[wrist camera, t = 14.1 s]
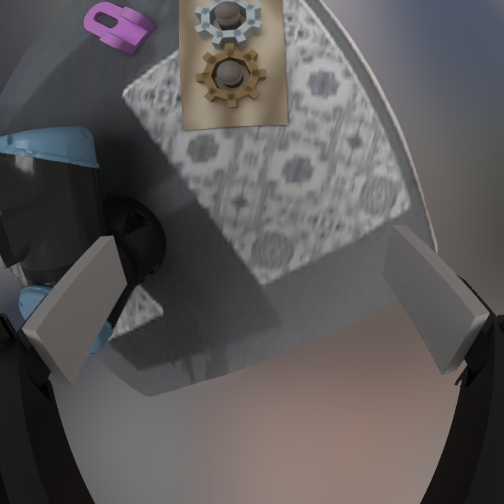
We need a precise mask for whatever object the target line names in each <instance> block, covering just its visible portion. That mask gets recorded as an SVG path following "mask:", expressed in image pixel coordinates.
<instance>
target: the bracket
mask: <svg viewBox="0 0 504 504" xmlns="http://www.w3.org/2000/svg"><path fill="white" fill-rule="evenodd" d="M103 13H105V14H107V15H110V16H112V17H114V18H116V19H118V24H117V25H116V26H115V27H114V28H111V29H110V28H108V27H106V26H104V25H102V24H100V23H98V22H97V18H98V17H99V15H101V14H103ZM84 27H85V29H86V30H88V31H90V32H92V33H94V34H95V35H97V36H99V37H101V38H100V40H101V41H103V42H104V43H106V44H108V45H110V46H112V47H114V48H117V49H119V50H122V51H124V52H127V53H129V54H132V55H133V54H134V53H135V52H136V50H137V49H138V48H139V46H140V45H141V44H142V43H143V41H144V40H145V39H146V38H147V37H148V35H149V34H150V33H151V32H152V31H153V30H154V28H155V27H156V25H154V24H153V23H152V22H151V21H149V20H148V19H147V18H146V17H144V16H143V15H141V14H140V13H138V12H136V11H134V10H132V9H130V8H128V7H124V9H123V8H120V7H118V6H116V5H114V4H111V3H109V2H102V3H99V4H97V5H95V6H94V7H92V8H91V9H90V10H89V12H88V13H87V14H86V16H85V19H84Z"/></svg>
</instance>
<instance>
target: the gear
mask: <svg viewBox="0 0 504 504" xmlns="http://www.w3.org/2000/svg"><path fill="white" fill-rule="evenodd" d="M225 1H231V2H234V3H236V4H237V5H238V7H239V10H240V15H242V16H243V17H245V18H246V20H247V21H245V22H244V23H243V24H242V25H241V26H240V27H239V28H237V29H236V30H225V31H220V30H219V29H217V28H216V27H214V24H213V21H214V20H215V19H216V15H215V8H216V7H217V5H219V4H220V3H222V2H225ZM261 8H262V7H261V5H260V4H259V2H255V3H252V4H250V3H249V2H247V1H246V0H212V1H211V2H210V3H209V4H208V5H207V6H205V7H198V6H197V8H196V10H195V12H194V13H195V15H196V16H197V18H198V20H199V21H200V22H201V24H199V25H197V26H195V29H196V31H197V33H198V34H199V35H200V37H201V38H202V40H205V39H207V38H209V37H210V38H211V39H212V44H213V46H214V48H215V49H217V50H221V51H223V48H224V46H225V44H228V43H234V44H237V46H238V47H239V49H243V48H245V47H247V43H246V39H247V38H248V37H249V36H250V35H252V34H253V35H256V36H259V34H260V32H261V29H262V21H258V20H255V19H256V18H259V17H261Z"/></svg>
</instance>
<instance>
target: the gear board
mask: <svg viewBox="0 0 504 504" xmlns="http://www.w3.org/2000/svg"><path fill="white" fill-rule="evenodd" d="M211 1H212V0H179V53H180V79H181V98H182V113H183V127H184V131H188V130H197V129H207V128H219V127H234V126H257V125H288V121H287V86H286V62H285V43H284V26H283V12H282V0H246V1H247V2H249V3H250V4H252V3H255V2H259V4H260V5H261V7H262V8H261V17H259V18H256V19H255V20H258V21H262V29H261V32H260V34H259V36H256V35H253V34H252V35H250V36H249V37H248V38H247V39H246V43H247V47H245V48H243V49H239V47H238V46H237V44H234V43H228V44H225V46H224V48H223V51H221V50H217V49H215V48H214V46H213V44H212V39H211V38H210V37H209V38H207V39H205V40H202V38H201V37H200V35H199V34H198V33H197V31H196V29H195V26H197V25H199V24H201V22H200V21H199V20H198V18H197V16H196V15H195V13H194V12H195V10H196V8H197V6H198V7H205V6H207V5H208V4H209V3H210V2H211ZM215 15H216V19H215V20H214V21H213V24H214V27H216V28H217V29H219V30H220V31H225V30H236V29H237V28H239V27H240V26H241V25H242V24H243V23H244V22H245V21H247V20H246V18H245V17H243V16H242V15H240V10H239V7H238V5H237V4H236V3H234V2H231V1H225V2H222V3H220V4H219V5H217V7H216V8H215Z"/></svg>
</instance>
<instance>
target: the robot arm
mask: <svg viewBox="0 0 504 504" xmlns="http://www.w3.org/2000/svg"><path fill="white" fill-rule="evenodd" d="M98 169H99V164H98V163H97V159H96V152H95V145H94V138H93V135H92V134H91V132H90V131H89V130H87V129H86V128H84V127H79V126H66V127H51V128H42V129H35V130H29V131H23V132H18V133H15V134H11V135H5V136H2V137H0V267H2V268H4V269H6V268H8V267H10V266H12V265H14V264H16V263H19V262H20V264H21V267H22V270H23V272H24V275H25V278H26V280H27V286H25V287H24V288H23V289H22V291H21V295H20V298H19V308H20V311H21V313H22V316H23V317H24V319H25V322H24V323H23V325H22V326H21V328H20V329H19V330H18V332H17V333H16V331H15V329H14V328H13V326H12V324H11V323H10V321H9V319H8V317H7V316H6V315H5V314H4V313H0V504H95V503H94V501H93V499H92V497H91V495H90V493H89V491H88V489H87V487H86V485H85V482H84V480H83V478H82V476H81V474H80V471H79V469H78V467H77V465H76V462H75V459H74V457H73V454H72V451H71V449H70V446H69V443H68V440H67V437H66V434H65V432H64V428H63V425H62V422H61V419H60V415H59V412H58V408H57V404H56V400H55V396H54V392H53V388H52V384H51V382H50V380H49V379H48V377H49V375H50V373H52V375H53V376H54V377H55V378H56V380H57V381H58V382H59V383H63V384H66V385H70V386H73V384H74V383H75V380H76V378H77V376H78V374H79V372H80V370H81V368H82V366H83V364H84V362H85V360H86V358H87V357H89V356H93V355H96V354H97V353H98V352H100V350H101V349H102V348H103V347H104V345H105V343H106V342H107V340H108V339H109V337H111V336H112V334H113V329H114V327H115V325H116V323H117V321H118V319H119V317H120V315H121V313H122V311H123V309H124V307H125V305H126V303H127V301H128V300H129V298H130V296H131V294H132V292H133V290H134V288H135V287H136V286H138V285H139V284H141V283H142V282H144V281H145V280H147V279H148V278H150V277H151V276H152V275H153V274H154V273H155V272H156V271H157V269H158V267H159V266H160V264H161V262H162V260H163V257H164V254H165V248H166V243H165V236H164V232H163V229H162V227H161V225H160V223H159V221H158V220H157V218H156V217H155V216H154V214H153V213H152V212H151V211H150V210H149V209H148V208H146V207H145V206H144V205H142V204H141V203H139V202H137V201H135V200H132V199H129V198H123V197H116V198H111V199H108V200H105V201H104V202H102V198H101V191H100V183H99V174H98ZM382 275H383V277H384V278H385V280H386V281H387V283H388V284H389V286H390V287H391V289H392V290H393V292H394V293H395V295H396V297H397V298H398V300H399V301H400V303H401V304H402V306H403V307H404V309H405V311H406V312H407V314H408V316H409V317H410V319H411V321H412V322H413V324H414V326H415V327H416V329H417V331H418V332H419V334H420V336H421V337H422V339H423V341H424V343H425V344H426V346H427V348H428V350H429V351H430V353H431V355H432V357H433V359H434V361H435V363H436V364H437V366H438V368H439V370H440V372H441V374H442V375H443V374H447V373H449V372H453V371H455V370H457V369H458V367H459V366H460V364H461V362H462V361H463V360H465V361H466V363H467V366H466V368H465V369H464V371H463V372H462V373H461V375H460V376H459V378H458V379H457V381H456V383H455V385H457V384H458V383H459V381H461V380H462V383H461V385H460V387H461V388H460V393H459V397H458V401H457V405H456V409H455V414H454V417H453V421H452V425H451V428H450V431H449V434H448V437H447V440H446V443H445V446H444V449H443V452H442V455H441V458H440V460H439V463H438V465H437V468H436V470H435V473H434V475H433V478H432V480H431V482H430V484H429V486H428V489H427V491H426V493H425V495H424V497H423V499H422V501H421V503H420V504H504V315H498V316H497V317H496V315H495V314H494V313H493V312H492V310H491V309H490V308H489V307H488V306H487V305H486V303H485V302H484V301H483V300H482V299H481V298H480V296H477V293H476V292H475V291H474V290H473V289H472V287H471V286H470V285H469V284H468V283H467V282H466V281H465V280H464V279H462V278H461V277H459V276H458V275H456V274H455V273H454V272H453V271H452V270H451V269H450V268H449V267H448V266H447V265H446V264H445V263H444V262H443V261H442V260H441V259H440V258H439V257H438V256H437V255H436V254H435V253H434V252H433V251H432V250H431V249H430V248H429V247H428V246H427V245H426V244H425V243H424V242H423V241H422V240H421V239H420V238H419V237H418V236H416V235H415V234H414V233H413V232H412V231H411V230H410V229H409V228H408V227H407V226H405V225H392V229H391V235H390V240H389V245H388V250H387V255H386V260H385V265H384V269H383V273H382Z"/></svg>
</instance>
